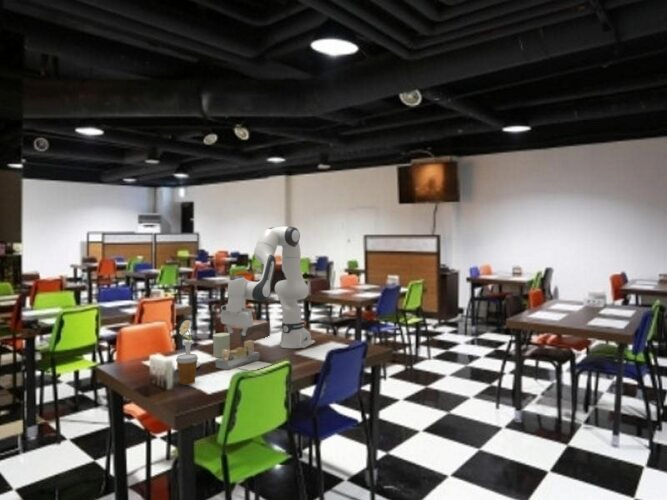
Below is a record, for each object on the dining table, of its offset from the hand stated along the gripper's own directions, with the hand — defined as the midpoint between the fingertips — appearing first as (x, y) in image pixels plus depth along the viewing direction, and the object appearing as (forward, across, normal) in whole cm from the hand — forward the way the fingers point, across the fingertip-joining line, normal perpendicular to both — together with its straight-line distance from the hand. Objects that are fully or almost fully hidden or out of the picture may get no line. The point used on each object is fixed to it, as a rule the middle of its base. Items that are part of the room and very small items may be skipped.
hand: (236, 334), depth 239 cm
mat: (+15, -12, -1) cm, 19 cm away
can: (+15, +20, -8) cm, 26 cm away
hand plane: (+15, 0, -1) cm, 15 cm away
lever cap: (+11, 0, 0) cm, 11 cm away
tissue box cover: (+15, +36, -44) cm, 59 cm away
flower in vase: (+16, +14, +19) cm, 29 cm away
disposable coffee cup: (+16, -3, +33) cm, 37 cm away
